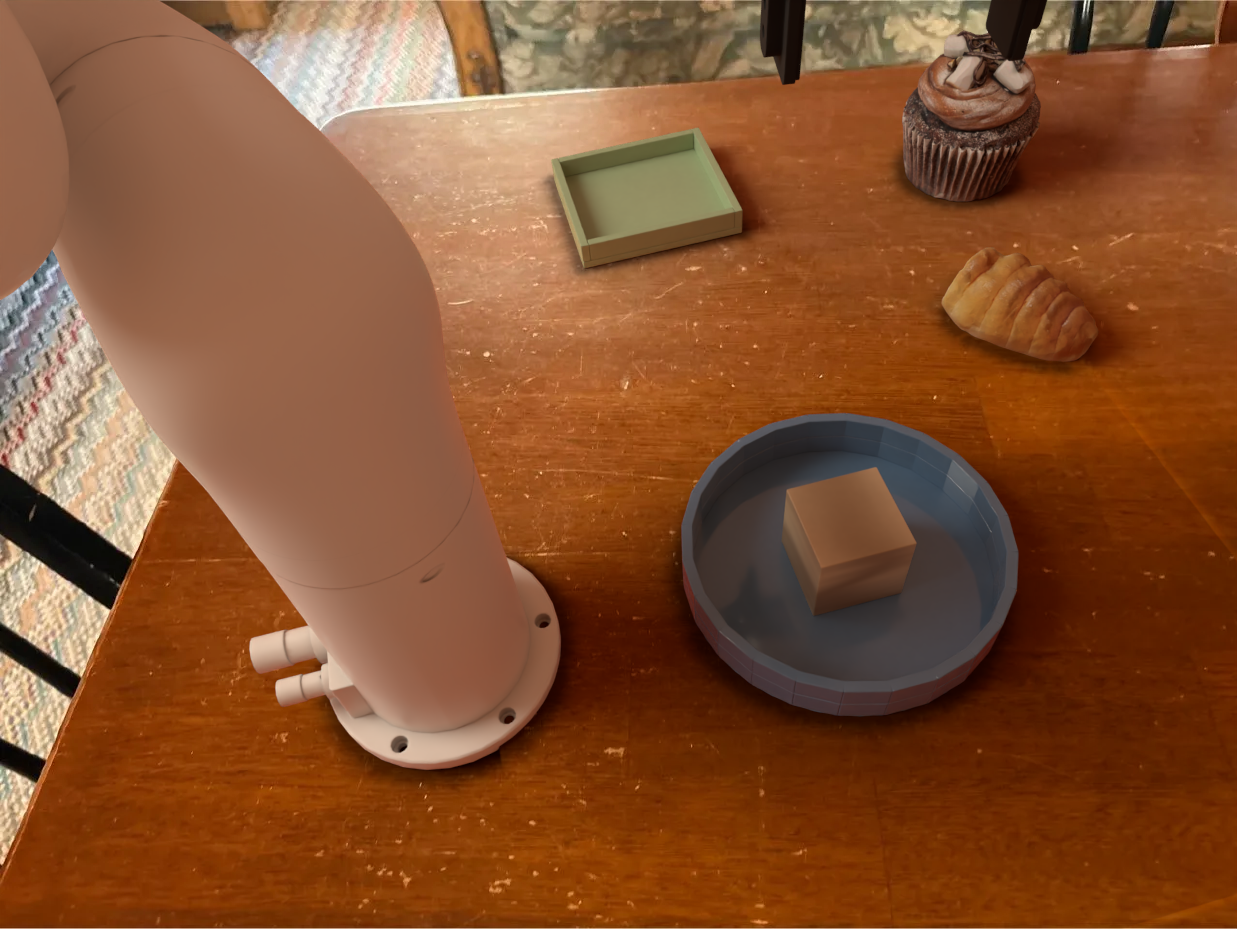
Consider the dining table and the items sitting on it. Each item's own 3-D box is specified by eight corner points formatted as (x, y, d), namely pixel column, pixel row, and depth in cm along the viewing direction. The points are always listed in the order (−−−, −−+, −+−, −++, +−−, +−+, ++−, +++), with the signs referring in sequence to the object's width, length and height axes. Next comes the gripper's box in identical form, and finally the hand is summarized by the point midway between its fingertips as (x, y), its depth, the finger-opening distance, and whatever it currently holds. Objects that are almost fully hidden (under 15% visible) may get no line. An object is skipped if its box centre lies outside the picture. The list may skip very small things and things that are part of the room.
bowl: (739, 759, 46) (740, 733, 43) (649, 489, 57) (646, 453, 54) (1063, 670, 47) (1085, 639, 45) (918, 422, 58) (928, 384, 55)
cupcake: (881, 139, 76) (901, 17, 68) (1003, 128, 75) (1037, 4, 67) (906, 213, 70) (931, 90, 62) (1039, 203, 69) (1080, 77, 61)
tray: (583, 268, 69) (580, 246, 68) (554, 181, 76) (550, 159, 74) (742, 232, 70) (742, 209, 68) (699, 149, 77) (698, 126, 75)
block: (812, 616, 50) (821, 568, 46) (780, 540, 53) (786, 489, 49) (901, 593, 50) (917, 543, 46) (864, 519, 53) (876, 466, 49)
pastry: (1110, 330, 61) (1130, 286, 58) (1055, 389, 59) (1073, 347, 56) (983, 268, 66) (995, 225, 63) (926, 321, 63) (937, 278, 60)
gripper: (710, -435, 26) (708, 125, 39) (1345, -508, 25) (1123, 81, 39) (681, -480, 30) (688, 34, 44) (1218, -542, 30) (1059, -5, 44)
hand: (893, 56), depth 41 cm, fingers open, 9 cm apart
